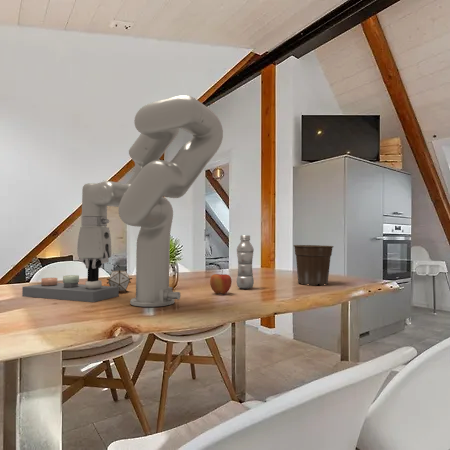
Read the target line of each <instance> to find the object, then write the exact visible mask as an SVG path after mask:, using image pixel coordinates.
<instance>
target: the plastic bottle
mask: <svg viewBox="0 0 450 450" xmlns="http://www.w3.org/2000/svg"><path fill="white" fill-rule="evenodd" d="M239 240H240V243H239V244H238V246H237V248H236V256H237V277H236V287H237V288H238V289H243V290H248V289H251V288H252V289H253V286H254V284H255V283H254V282H255V280H254V273H253V258H254V257H253V256H254V247H253V245H252V243H251V235H248V234H247V235H242V234H241V235H240V239H239Z"/></svg>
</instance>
